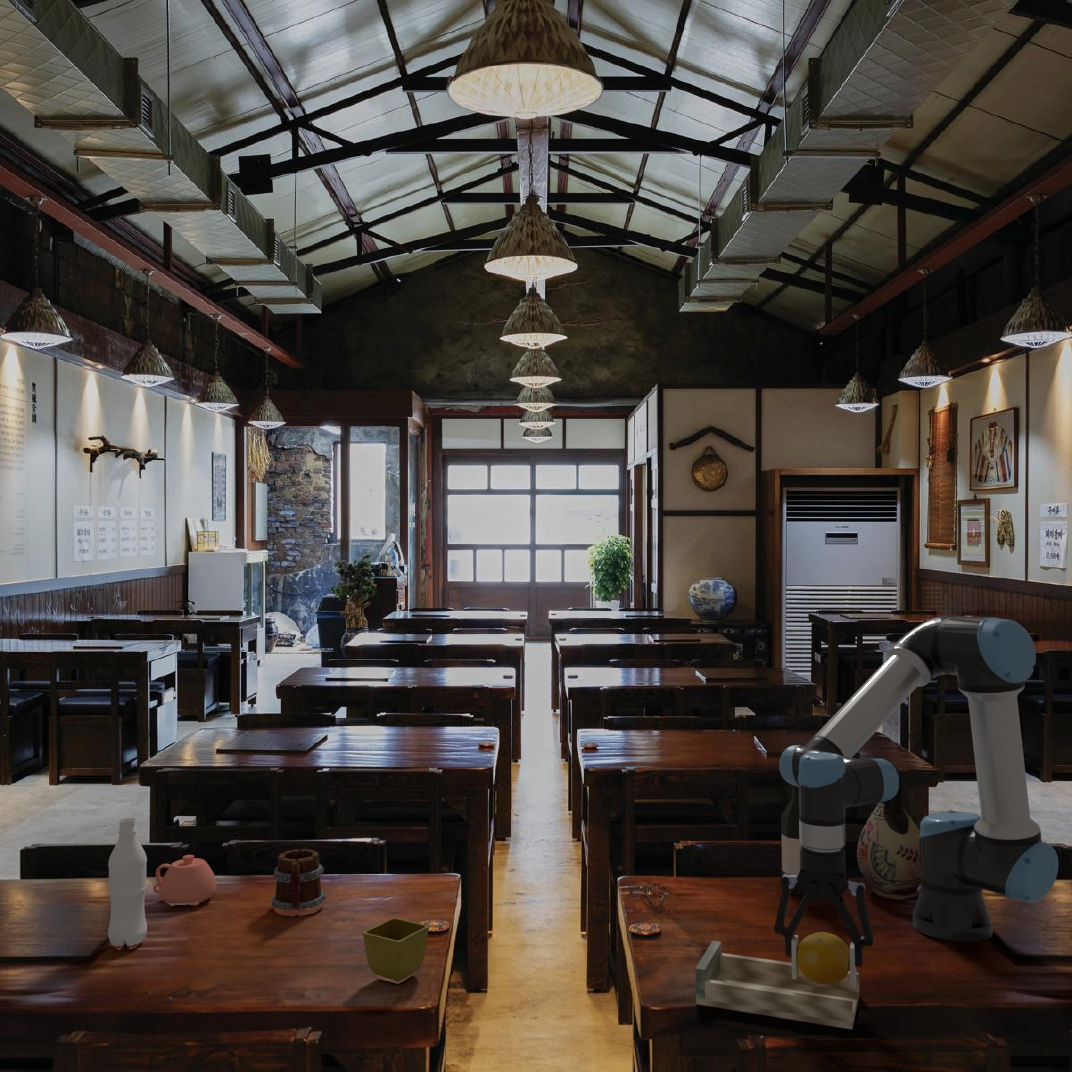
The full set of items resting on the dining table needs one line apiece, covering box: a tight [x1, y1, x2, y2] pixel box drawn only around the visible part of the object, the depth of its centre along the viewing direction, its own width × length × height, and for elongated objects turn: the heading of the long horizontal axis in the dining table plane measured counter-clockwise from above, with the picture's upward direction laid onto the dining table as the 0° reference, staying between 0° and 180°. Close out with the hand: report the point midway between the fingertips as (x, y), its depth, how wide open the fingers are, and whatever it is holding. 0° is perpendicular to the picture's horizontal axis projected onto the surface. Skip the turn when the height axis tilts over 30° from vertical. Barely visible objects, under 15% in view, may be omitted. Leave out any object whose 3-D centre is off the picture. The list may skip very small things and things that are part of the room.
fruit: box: [797, 931, 850, 985], centre depth 170 cm, size 9×8×8 cm
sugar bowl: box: [152, 854, 218, 903], centre depth 226 cm, size 12×14×10 cm
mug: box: [270, 848, 327, 910], centre depth 219 cm, size 12×14×15 cm
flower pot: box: [362, 917, 429, 982], centre depth 183 cm, size 9×9×9 cm
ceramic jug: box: [856, 763, 921, 901], centre depth 226 cm, size 17×15×30 cm
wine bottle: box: [780, 784, 805, 897], centre depth 230 cm, size 8×8×30 cm
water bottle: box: [107, 817, 148, 947], centre depth 200 cm, size 7×7×25 cm
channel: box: [694, 940, 860, 1030], centre depth 173 cm, size 26×13×6 cm, turn 68°
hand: (824, 980), depth 170 cm, fingers closed on fruit, 9 cm apart
